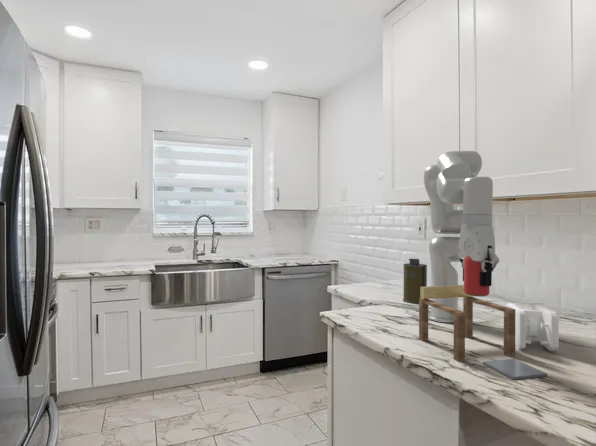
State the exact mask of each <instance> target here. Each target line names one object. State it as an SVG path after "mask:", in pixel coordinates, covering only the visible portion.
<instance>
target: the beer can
mask: <svg viewBox="0 0 596 446" xmlns="http://www.w3.org/2000/svg"><path fill="white" fill-rule="evenodd" d="M485 260H487V258H485ZM486 265H487V263H485V266H486ZM480 272H482V269H481V265H480V262H475V261H473V260H472V259H471V257H470V256H466V257H465V259H464V281H463V285H464V292H465V294H467V295H470V296H475V297H487V296H489V295H490V290H491V289H490V287H491V286H480Z"/></svg>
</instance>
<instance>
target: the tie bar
mask: <svg viewBox="0 0 596 446" xmlns="http://www.w3.org/2000/svg"><path fill="white" fill-rule="evenodd" d="M463 297H474V298H476V296H470V295H467V294H465V292H464V284H458V285H451V286H432V285H431V286H430V285H429V286H426V287H420V298H422V299H429V300H432V299H438V298H458V299H459V298H463Z"/></svg>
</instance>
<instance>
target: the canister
mask: <svg viewBox="0 0 596 446" xmlns="http://www.w3.org/2000/svg"><path fill="white" fill-rule="evenodd" d="M408 261H409V262H408V263H403V264H402V265H403V298H402V301H404V302H405V303H409V304H419V298H420V287H426V286H427V285H428V283H427V280H428V279H427V278H428V277H427V275H428V274H427V273H428V271H427V270H428V265H427V264H425V263H420V259H419V258H409V259H408Z"/></svg>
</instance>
